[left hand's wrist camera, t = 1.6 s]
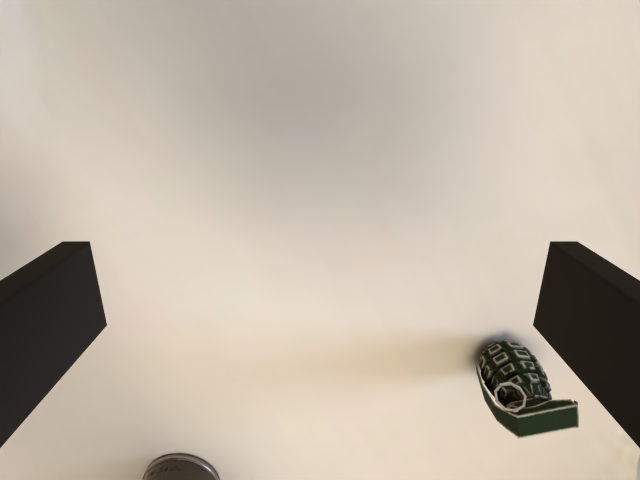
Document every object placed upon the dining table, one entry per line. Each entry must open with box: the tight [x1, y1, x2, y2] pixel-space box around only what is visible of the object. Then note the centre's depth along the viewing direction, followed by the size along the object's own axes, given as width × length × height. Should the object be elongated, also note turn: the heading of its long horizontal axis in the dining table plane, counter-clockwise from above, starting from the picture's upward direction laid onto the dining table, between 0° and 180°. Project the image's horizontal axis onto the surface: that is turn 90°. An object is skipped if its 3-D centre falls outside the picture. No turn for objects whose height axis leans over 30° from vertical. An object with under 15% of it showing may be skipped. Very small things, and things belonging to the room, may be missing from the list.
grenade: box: [475, 340, 579, 438], centre depth 42 cm, size 7×6×10 cm
